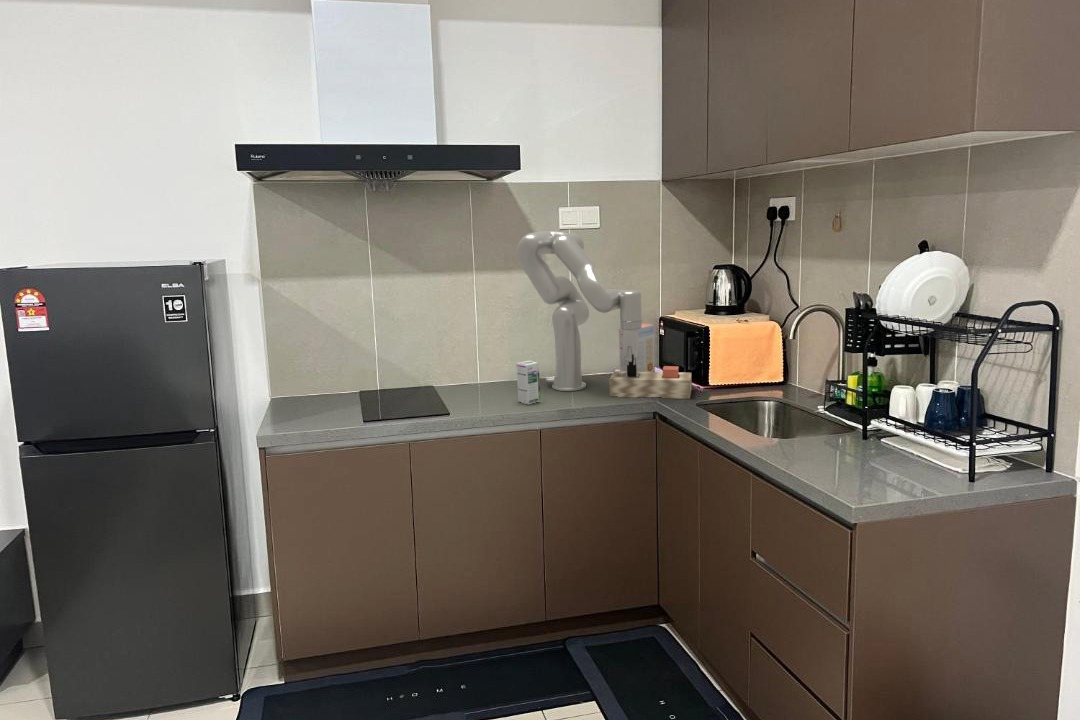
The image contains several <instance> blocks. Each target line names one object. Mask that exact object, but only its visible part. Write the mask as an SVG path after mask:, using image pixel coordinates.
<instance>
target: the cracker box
mask: <svg viewBox="0 0 1080 720" xmlns="http://www.w3.org/2000/svg"><path fill="white" fill-rule="evenodd" d="M638 332H639V349H638V355H637V357H636V369H637V372H656V368H655V367H656V365H655V364H656V363H655V362H656V361H655V359H656V358H655V325H654V324H650V323H642V329H641V330H638ZM618 339H619V340H618V341H619V342H618V343H619V345H618V346H619V370H620V371H627V355H626V357H625V358H623V357H622V347H623V330H620V328H619V329H618Z"/></svg>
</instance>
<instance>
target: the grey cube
mask: <svg viewBox="0 0 1080 720" xmlns="http://www.w3.org/2000/svg"><path fill="white" fill-rule="evenodd" d="M623 377H634V378H639V374H637V375H636V376H627V374H624V376H623Z"/></svg>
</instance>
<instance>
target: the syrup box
mask: <svg viewBox="0 0 1080 720" xmlns="http://www.w3.org/2000/svg"><path fill="white" fill-rule="evenodd" d="M540 378H541V377H540V363H539V362H538V361H534V360H525V361H521V362H516V381H517V395H518V396H517V397H518V398H517V399H518V402H519V401H521V402H525V403H533V402H538V401H542V398H541V380H540Z"/></svg>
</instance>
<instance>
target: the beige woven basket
mask: <svg viewBox="0 0 1080 720" xmlns="http://www.w3.org/2000/svg"><path fill="white" fill-rule="evenodd" d="M624 374H627V371H617V370H614V371H613V372H612V374H611V376H610V377H609V397H610V396H618V397H617V398H637V397H649V398H648V399H651V398H650V397H662V398H661V399H681V400H682V399H685V400H688V399H689V400H690V399H691V395H692V372H685V371H684V372H683V371H682V372H679V378H663V371H655V372H637V374H639V378H634V377H623V376H624Z"/></svg>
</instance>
